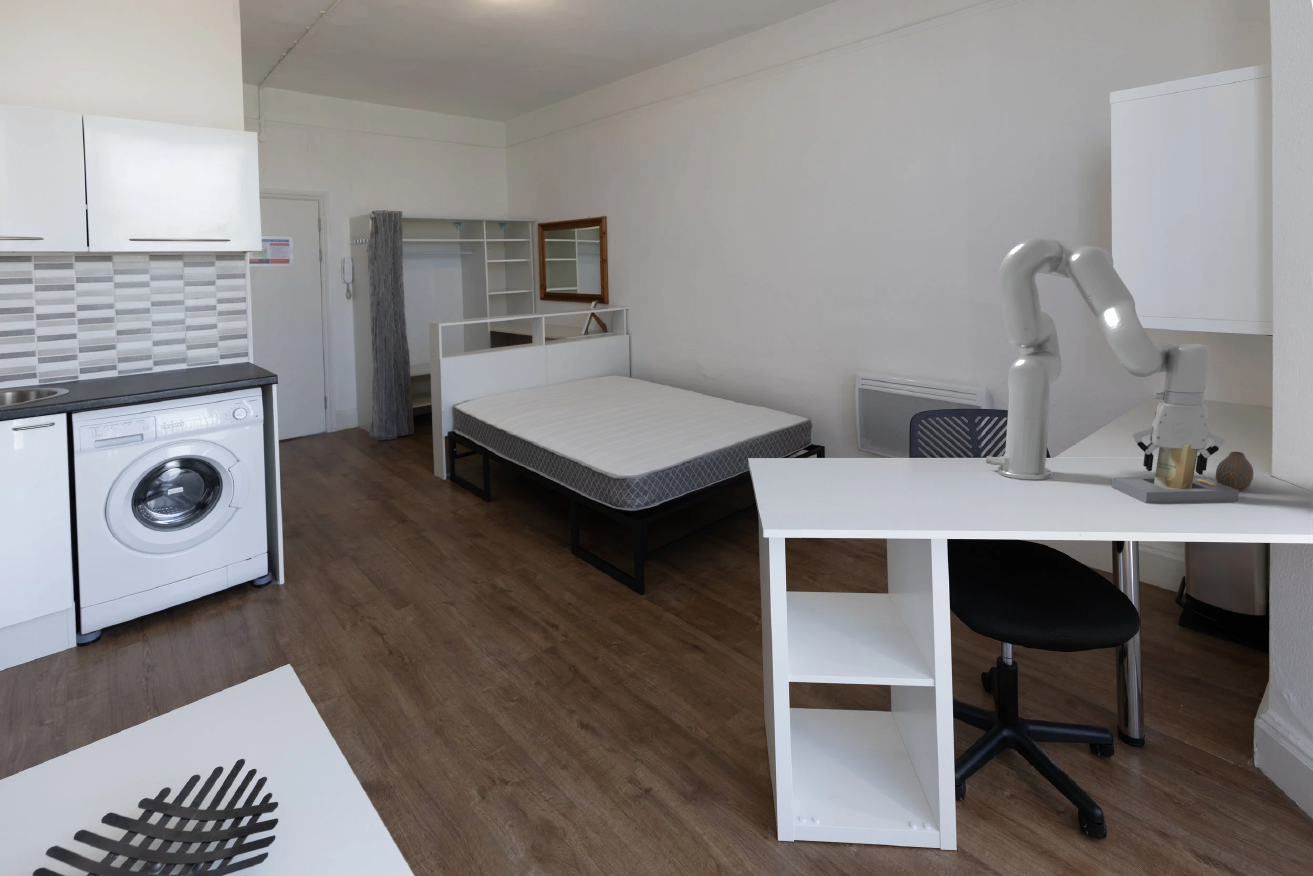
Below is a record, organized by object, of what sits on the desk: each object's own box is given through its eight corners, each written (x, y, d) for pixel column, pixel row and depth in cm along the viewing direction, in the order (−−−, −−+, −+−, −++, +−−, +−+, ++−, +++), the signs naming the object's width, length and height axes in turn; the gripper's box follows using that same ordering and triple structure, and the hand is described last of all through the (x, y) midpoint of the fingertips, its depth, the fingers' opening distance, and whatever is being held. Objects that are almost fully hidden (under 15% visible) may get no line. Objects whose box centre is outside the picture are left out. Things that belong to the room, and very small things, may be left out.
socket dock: (1145, 503, 160) (1147, 491, 159) (1111, 487, 173) (1112, 476, 172) (1237, 501, 159) (1239, 489, 159) (1196, 485, 172) (1197, 474, 171)
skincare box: (1152, 490, 168) (1158, 440, 165) (1163, 488, 170) (1168, 438, 167) (1182, 497, 162) (1188, 445, 160) (1193, 494, 164) (1199, 442, 161)
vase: (1221, 491, 166) (1225, 455, 165) (1209, 484, 173) (1213, 448, 171) (1256, 493, 164) (1262, 456, 162) (1243, 485, 170) (1248, 449, 169)
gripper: (1140, 399, 162) (1131, 472, 165) (1235, 403, 154) (1224, 479, 158) (1134, 394, 168) (1126, 464, 172) (1225, 397, 161) (1215, 470, 165)
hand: (1173, 471), depth 165 cm, fingers open, 9 cm apart
